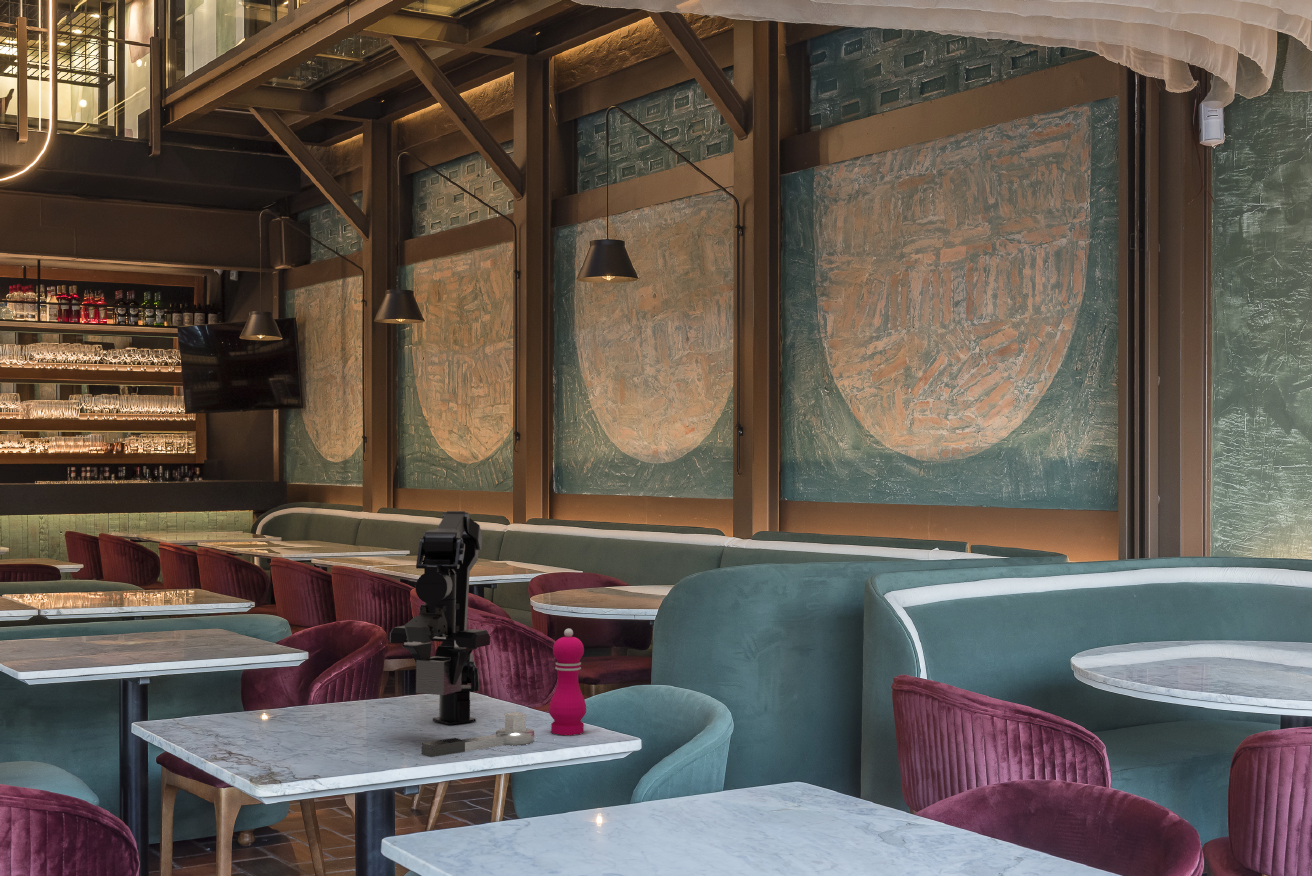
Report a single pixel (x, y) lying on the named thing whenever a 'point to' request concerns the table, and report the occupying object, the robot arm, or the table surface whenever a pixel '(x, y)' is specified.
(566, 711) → the pepper mill
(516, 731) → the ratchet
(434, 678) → the grey open-top box
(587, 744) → the table surface
